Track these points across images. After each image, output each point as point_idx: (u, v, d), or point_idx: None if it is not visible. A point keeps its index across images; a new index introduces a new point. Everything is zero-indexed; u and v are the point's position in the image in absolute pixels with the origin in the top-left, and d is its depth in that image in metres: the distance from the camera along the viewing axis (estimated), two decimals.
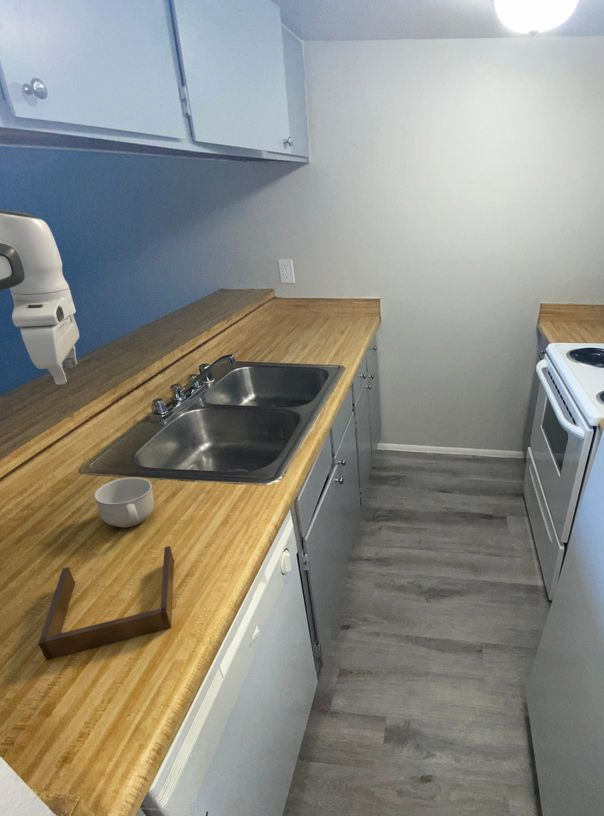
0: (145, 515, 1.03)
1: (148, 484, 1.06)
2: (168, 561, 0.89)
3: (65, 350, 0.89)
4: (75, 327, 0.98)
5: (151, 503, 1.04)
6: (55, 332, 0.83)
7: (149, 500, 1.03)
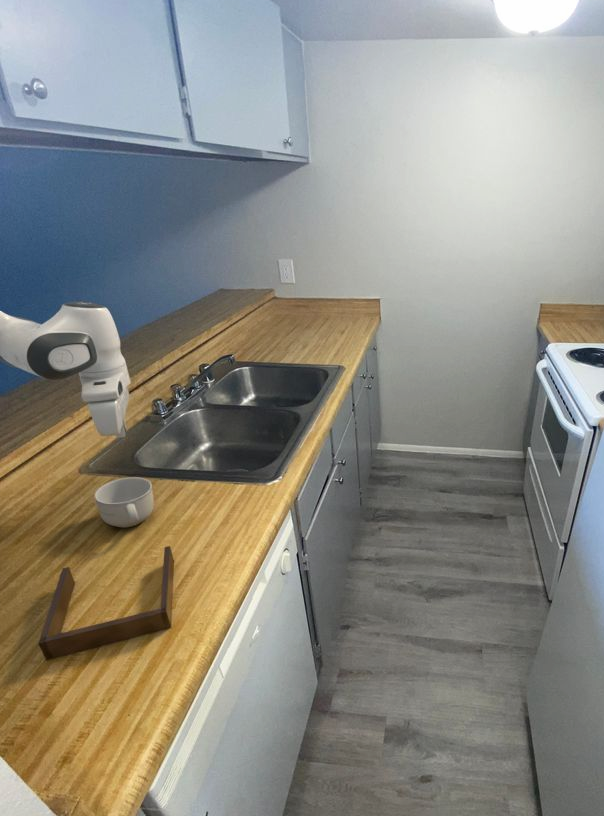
0: (145, 515, 1.03)
1: (148, 484, 1.06)
2: (168, 561, 0.89)
3: (122, 416, 1.02)
4: (126, 391, 1.11)
5: (151, 503, 1.04)
6: (117, 405, 0.96)
7: (149, 500, 1.03)
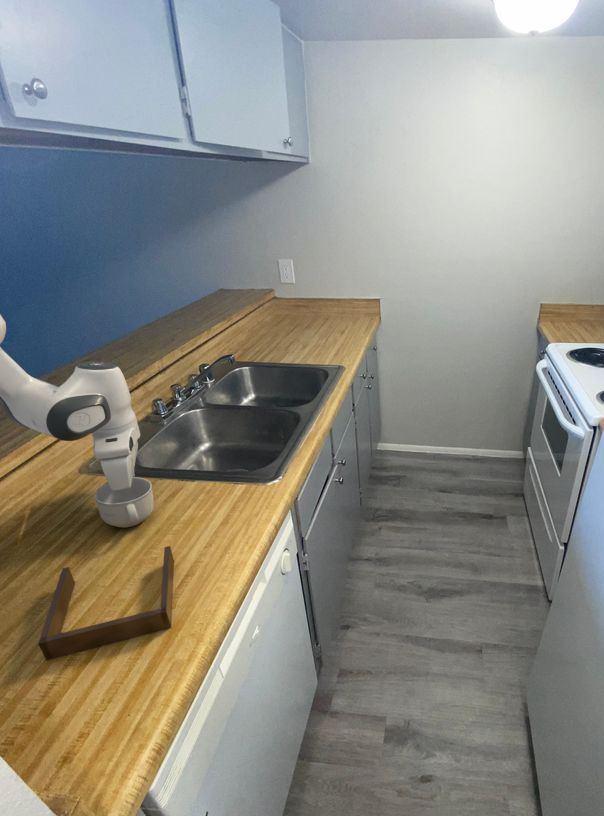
0: (145, 516, 1.03)
1: (148, 484, 1.06)
2: (168, 561, 0.89)
3: (132, 468, 1.05)
4: (135, 439, 1.14)
5: (151, 503, 1.04)
6: (128, 461, 0.99)
7: (149, 500, 1.03)
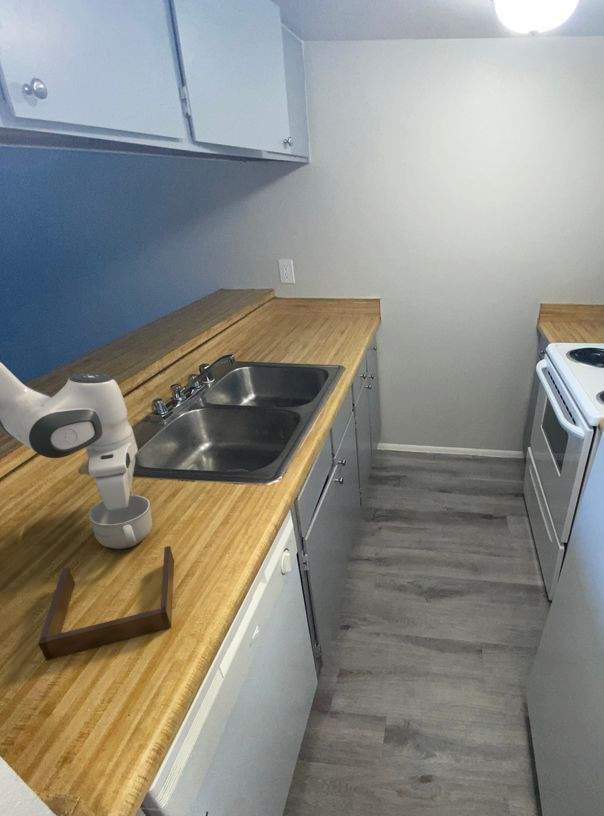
0: (143, 536, 0.97)
1: (146, 502, 1.00)
2: (168, 561, 0.89)
3: (129, 486, 0.99)
4: None
5: (149, 523, 0.98)
6: (125, 479, 0.93)
7: (146, 520, 0.97)
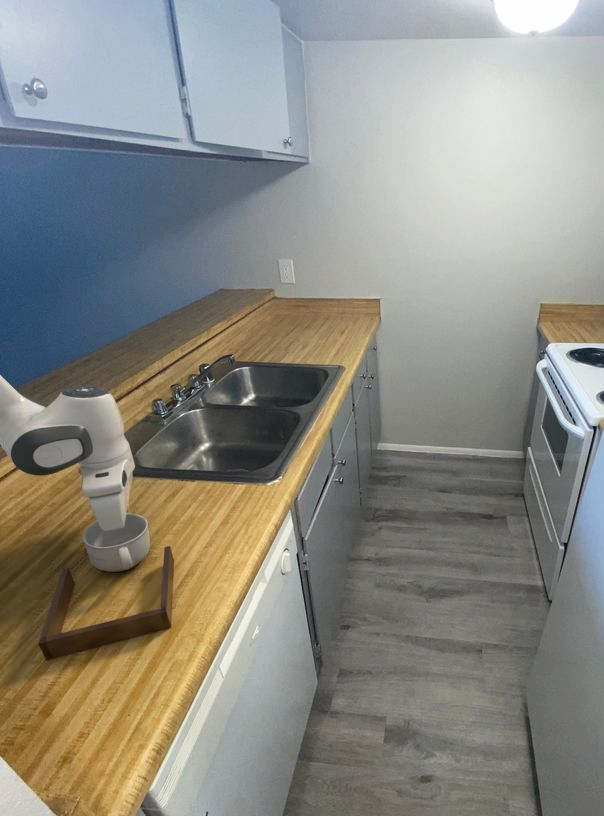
0: (141, 558, 0.92)
1: (144, 522, 0.94)
2: (168, 561, 0.89)
3: (126, 504, 0.94)
4: None
5: (147, 544, 0.93)
6: (121, 498, 0.88)
7: (144, 541, 0.92)
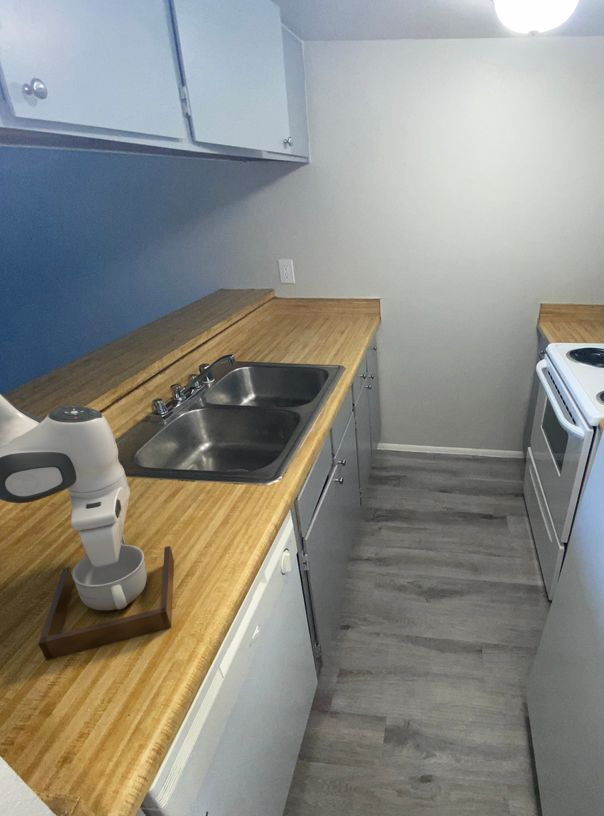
0: (136, 595, 0.84)
1: (140, 554, 0.86)
2: (168, 561, 0.89)
3: (120, 535, 0.86)
4: None
5: (143, 579, 0.85)
6: (114, 530, 0.80)
7: (140, 576, 0.84)
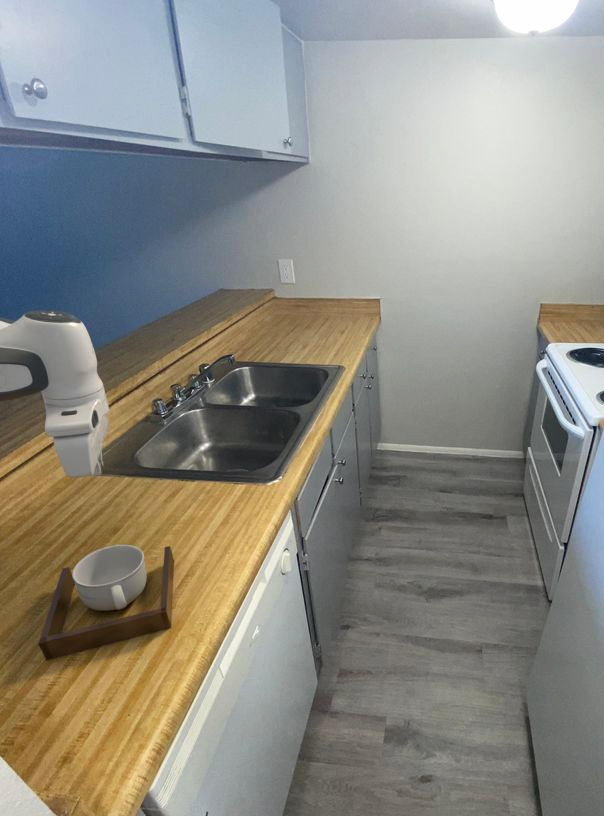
0: (136, 595, 0.84)
1: (140, 554, 0.86)
2: (168, 561, 0.89)
3: (97, 451, 0.83)
4: (105, 417, 0.92)
5: (143, 579, 0.85)
6: (90, 440, 0.77)
7: (140, 576, 0.84)
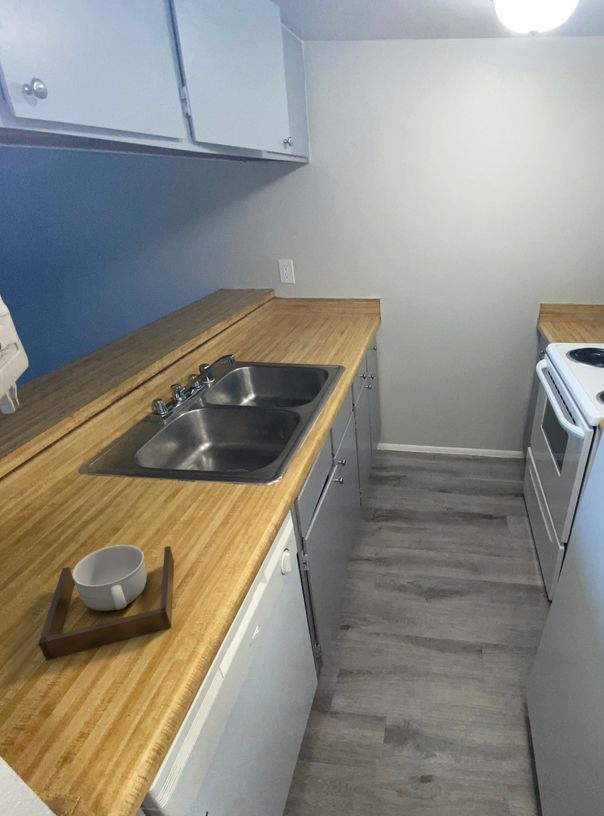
0: (136, 595, 0.84)
1: (140, 554, 0.86)
2: (168, 561, 0.89)
3: (5, 384, 0.78)
4: (23, 355, 0.86)
5: (143, 579, 0.85)
6: None
7: (140, 576, 0.84)
